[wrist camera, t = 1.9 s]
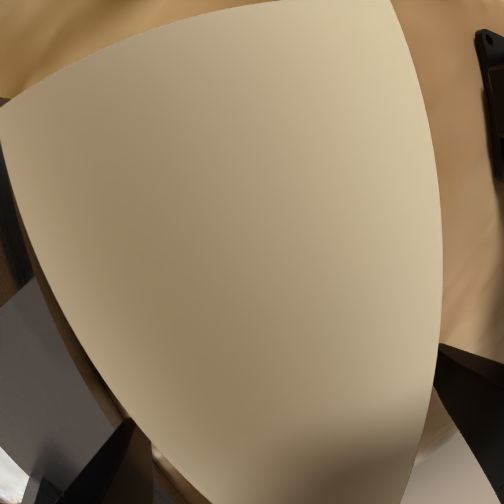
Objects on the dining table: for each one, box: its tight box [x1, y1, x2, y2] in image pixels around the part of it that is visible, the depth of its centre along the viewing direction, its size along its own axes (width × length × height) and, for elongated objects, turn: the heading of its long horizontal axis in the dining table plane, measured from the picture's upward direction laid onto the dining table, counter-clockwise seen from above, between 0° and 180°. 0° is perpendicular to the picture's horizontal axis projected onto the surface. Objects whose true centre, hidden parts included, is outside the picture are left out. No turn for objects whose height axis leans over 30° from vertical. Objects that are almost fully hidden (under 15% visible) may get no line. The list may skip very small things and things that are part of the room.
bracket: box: [0, 97, 188, 504], centre depth 8 cm, size 9×22×4 cm, turn 9°
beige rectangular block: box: [0, 0, 443, 504], centre depth 7 cm, size 4×16×6 cm, turn 16°
